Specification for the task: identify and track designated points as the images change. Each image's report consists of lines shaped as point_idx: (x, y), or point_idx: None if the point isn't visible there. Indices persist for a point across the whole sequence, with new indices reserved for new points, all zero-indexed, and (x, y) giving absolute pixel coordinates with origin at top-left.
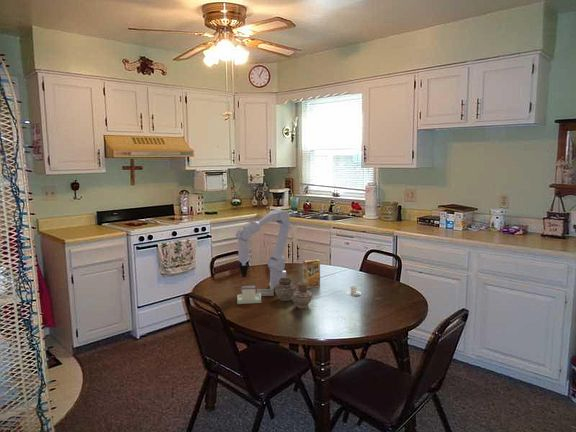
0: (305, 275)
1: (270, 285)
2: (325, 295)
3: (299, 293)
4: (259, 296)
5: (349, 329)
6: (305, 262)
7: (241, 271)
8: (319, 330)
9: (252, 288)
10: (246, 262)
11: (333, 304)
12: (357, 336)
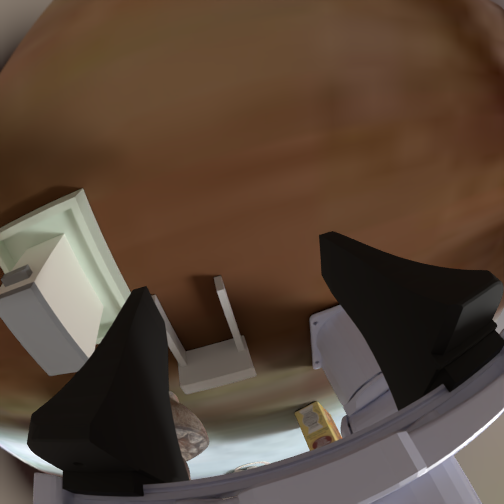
0: (315, 448)
1: (240, 371)
2: (225, 450)
3: None
4: None
5: (48, 466)
6: None
7: (98, 353)
8: (10, 442)
9: (38, 360)
10: (401, 383)
11: None
12: (33, 466)
